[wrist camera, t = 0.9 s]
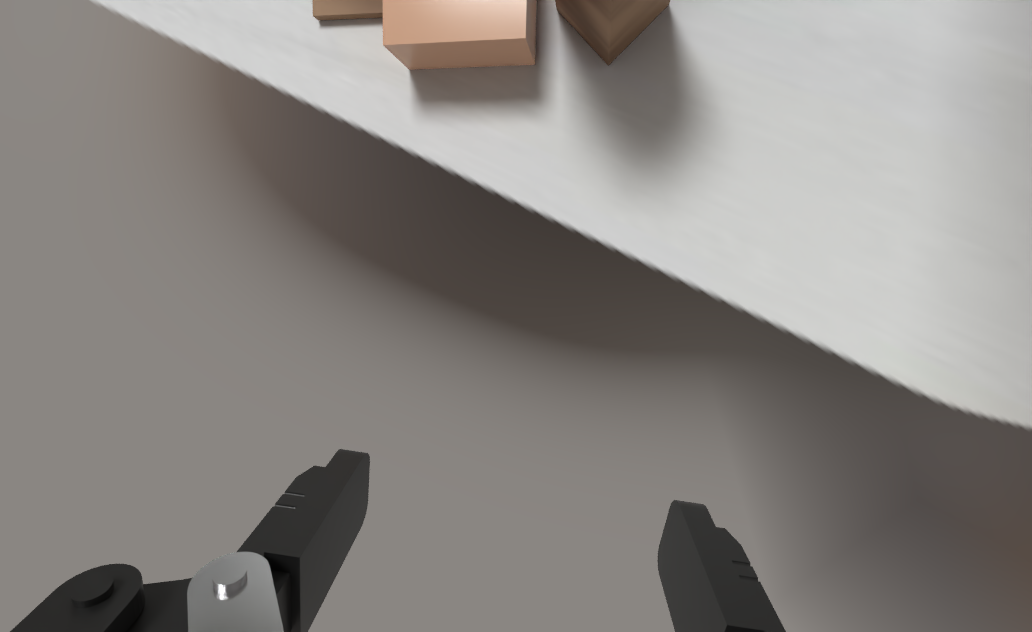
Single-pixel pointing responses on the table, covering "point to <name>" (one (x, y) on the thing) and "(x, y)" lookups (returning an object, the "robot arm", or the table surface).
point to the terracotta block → (460, 32)
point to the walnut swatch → (347, 9)
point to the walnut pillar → (610, 22)
